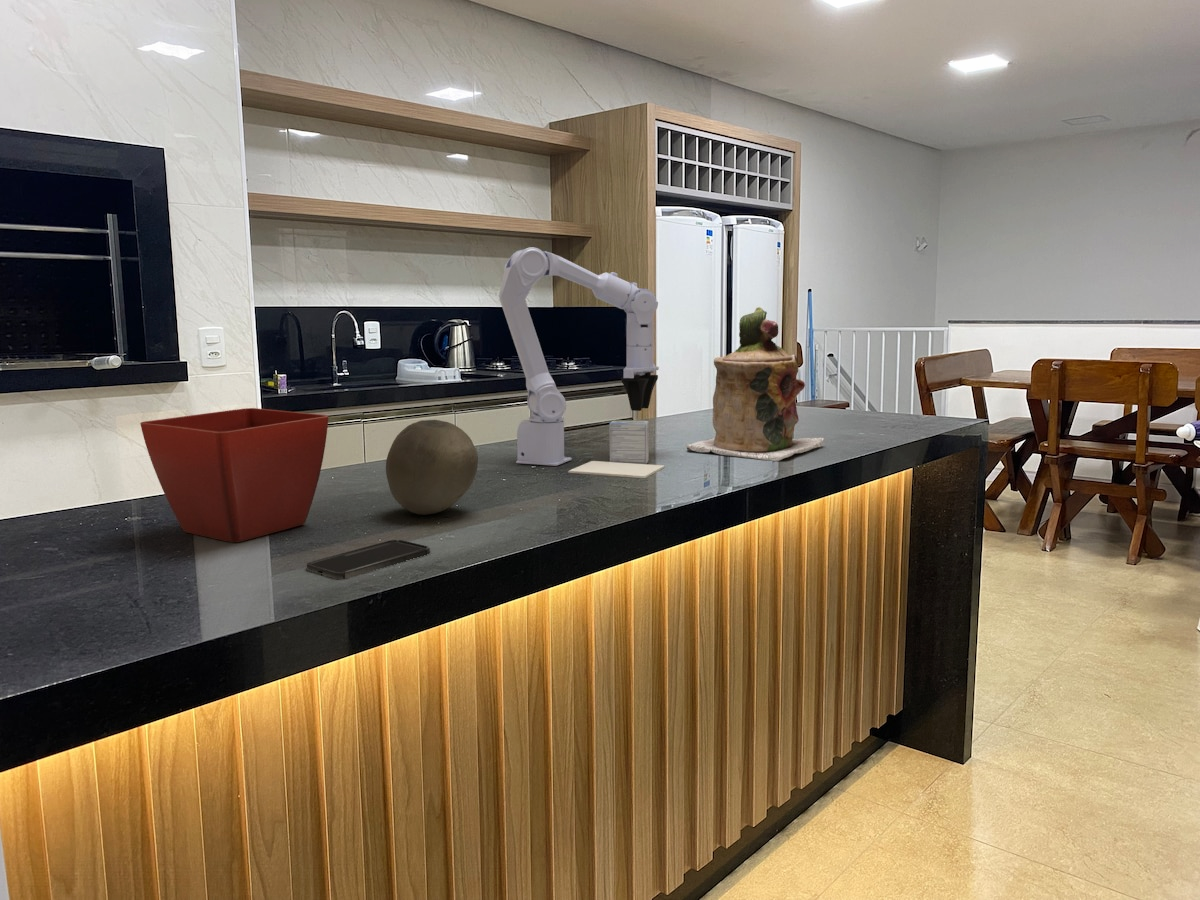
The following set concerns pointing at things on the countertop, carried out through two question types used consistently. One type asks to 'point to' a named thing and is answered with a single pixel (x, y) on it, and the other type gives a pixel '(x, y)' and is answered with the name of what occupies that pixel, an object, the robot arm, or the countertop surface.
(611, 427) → the medicine box
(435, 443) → the cantaloupe
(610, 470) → the mat
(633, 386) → the robot arm
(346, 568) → the phone
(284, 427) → the plant pot
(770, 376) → the cookie jar
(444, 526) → the countertop surface
